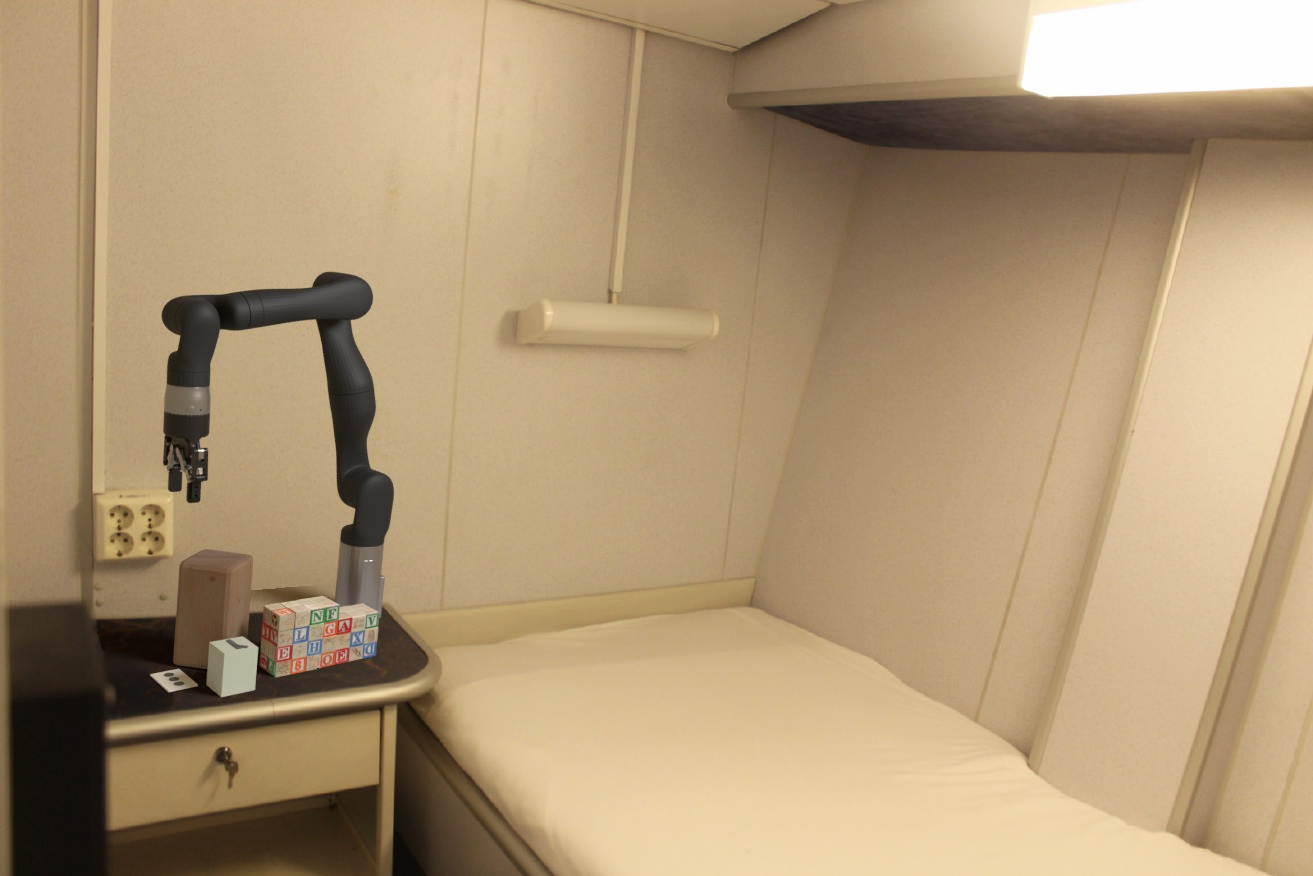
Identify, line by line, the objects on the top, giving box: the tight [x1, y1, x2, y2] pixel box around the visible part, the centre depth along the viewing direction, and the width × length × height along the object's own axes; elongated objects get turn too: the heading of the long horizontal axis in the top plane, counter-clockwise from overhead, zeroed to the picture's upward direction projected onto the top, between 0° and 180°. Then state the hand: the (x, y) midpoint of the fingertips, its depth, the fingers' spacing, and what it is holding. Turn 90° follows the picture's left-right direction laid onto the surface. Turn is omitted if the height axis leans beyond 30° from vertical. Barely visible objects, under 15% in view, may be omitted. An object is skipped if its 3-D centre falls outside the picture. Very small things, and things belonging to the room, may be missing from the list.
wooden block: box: [172, 548, 254, 670], centre depth 183 cm, size 10×10×20 cm
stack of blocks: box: [258, 595, 380, 678], centre depth 190 cm, size 21×6×12 cm, turn 138°
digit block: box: [206, 636, 259, 698], centre depth 174 cm, size 6×6×8 cm
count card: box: [149, 668, 199, 693], centre depth 174 cm, size 8×5×1 cm, turn 47°
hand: (183, 496), depth 179 cm, fingers open, 8 cm apart
